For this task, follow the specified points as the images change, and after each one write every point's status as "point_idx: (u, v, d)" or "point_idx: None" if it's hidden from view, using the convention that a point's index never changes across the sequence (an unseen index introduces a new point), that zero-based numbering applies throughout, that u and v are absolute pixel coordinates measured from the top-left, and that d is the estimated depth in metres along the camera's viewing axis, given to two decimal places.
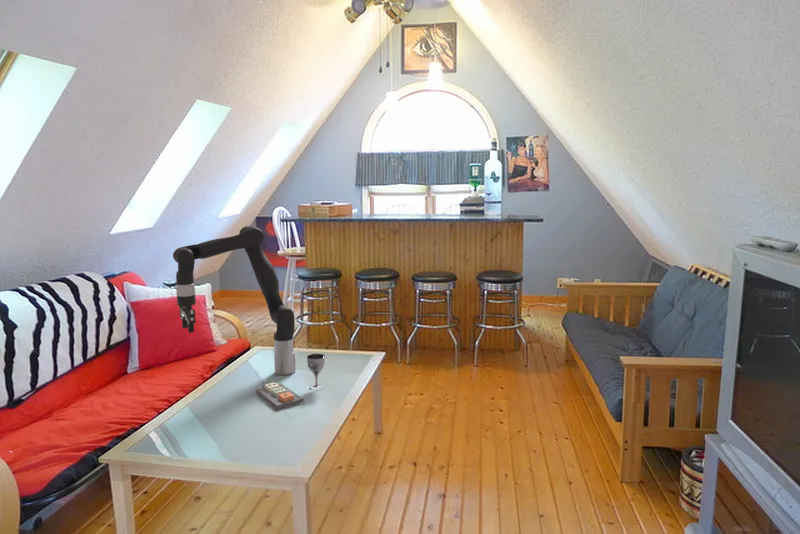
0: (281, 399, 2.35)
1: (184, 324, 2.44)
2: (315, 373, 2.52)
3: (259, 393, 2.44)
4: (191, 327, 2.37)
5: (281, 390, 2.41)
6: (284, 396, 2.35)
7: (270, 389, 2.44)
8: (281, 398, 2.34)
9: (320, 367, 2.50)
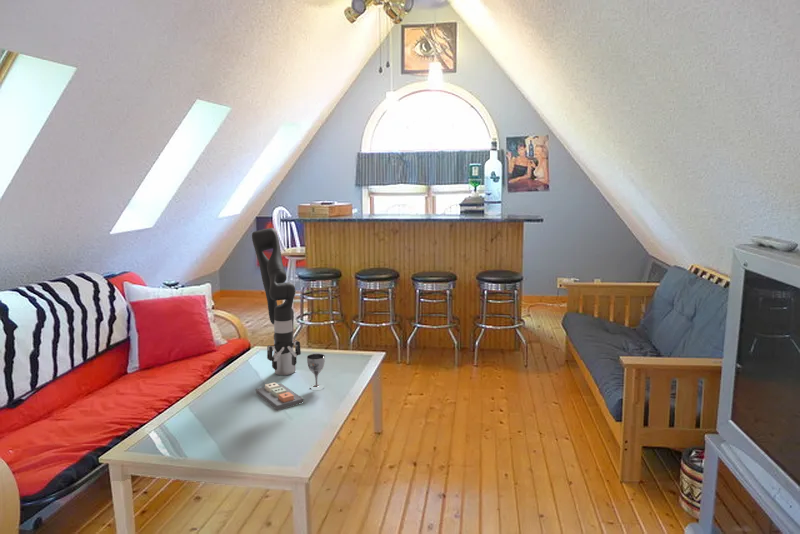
0: (281, 399, 2.35)
1: None
2: (315, 373, 2.52)
3: (259, 393, 2.44)
4: None
5: (281, 390, 2.41)
6: (284, 396, 2.35)
7: (270, 389, 2.44)
8: (281, 398, 2.34)
9: (320, 367, 2.50)
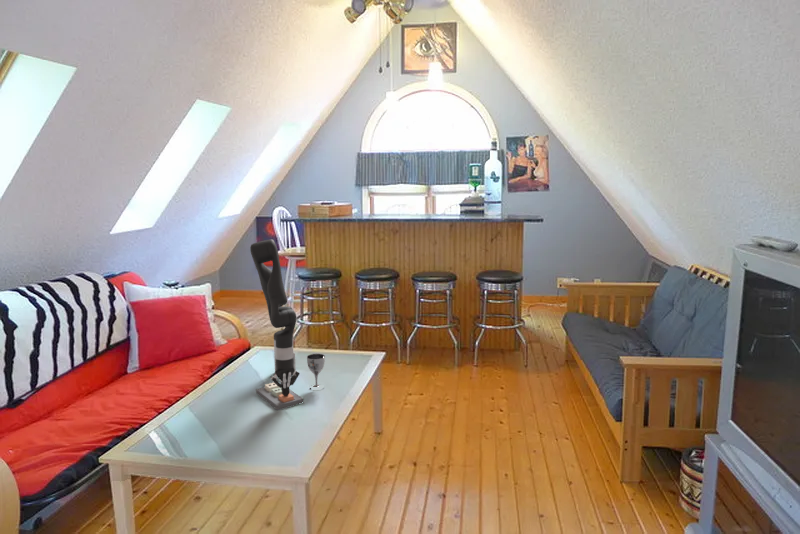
0: (281, 400, 2.35)
1: None
2: (315, 373, 2.52)
3: (259, 393, 2.44)
4: None
5: (281, 390, 2.41)
6: (284, 397, 2.35)
7: (270, 389, 2.44)
8: (281, 399, 2.35)
9: (320, 367, 2.50)
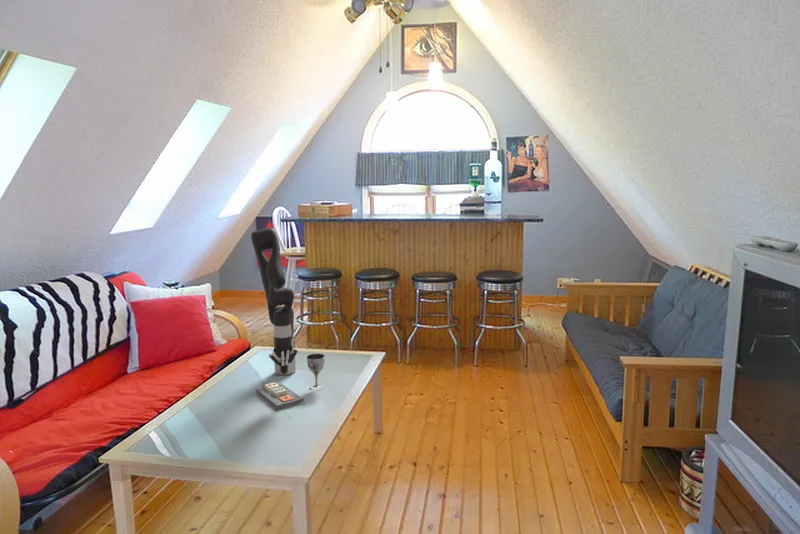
0: None
1: None
2: (315, 373, 2.52)
3: (259, 393, 2.44)
4: None
5: (281, 390, 2.41)
6: (284, 399, 2.35)
7: (270, 389, 2.44)
8: None
9: (320, 367, 2.50)
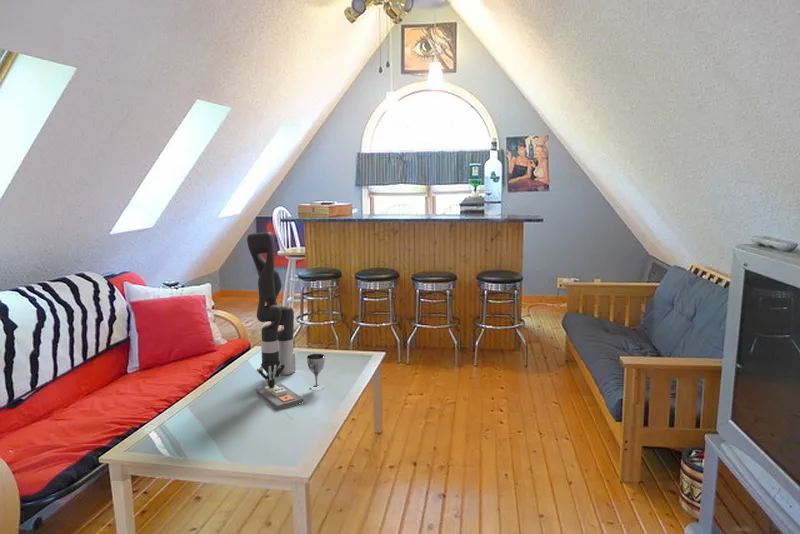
0: None
1: None
2: (315, 373, 2.52)
3: (259, 393, 2.44)
4: None
5: (281, 390, 2.41)
6: (284, 399, 2.35)
7: (270, 391, 2.44)
8: None
9: (320, 367, 2.50)
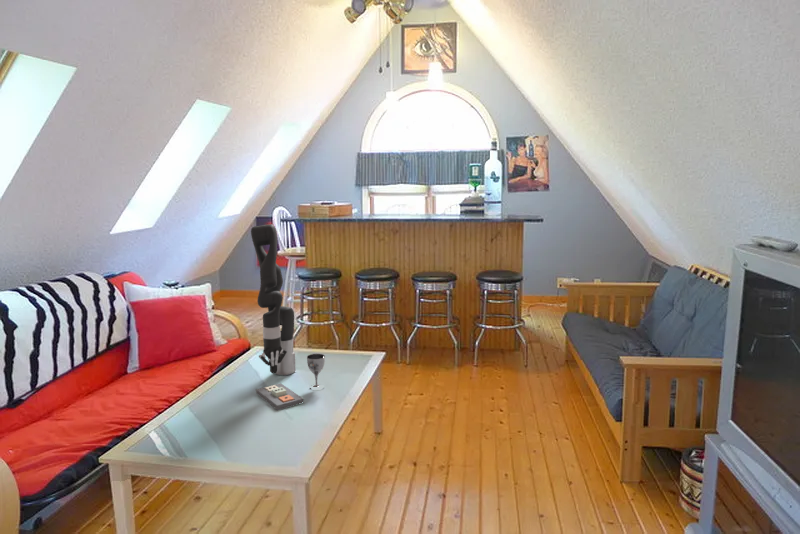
0: None
1: None
2: (315, 373, 2.52)
3: (259, 393, 2.44)
4: None
5: (281, 390, 2.41)
6: (284, 399, 2.35)
7: None
8: None
9: (320, 367, 2.50)
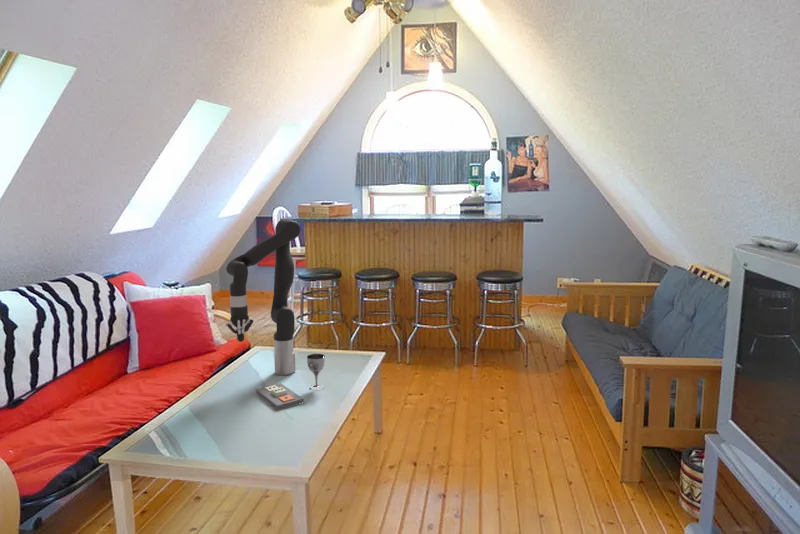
0: None
1: None
2: (315, 373, 2.52)
3: (259, 393, 2.44)
4: None
5: (281, 390, 2.41)
6: (284, 399, 2.35)
7: None
8: None
9: (320, 367, 2.50)
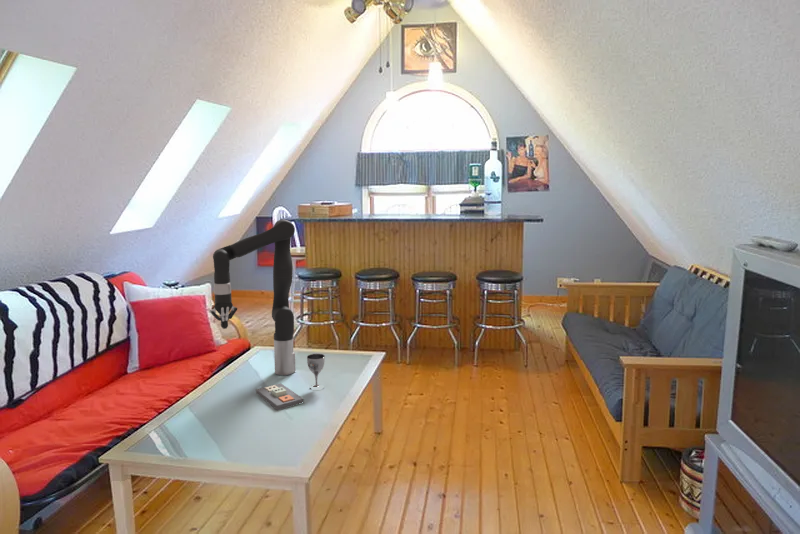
0: None
1: None
2: (315, 373, 2.52)
3: (259, 393, 2.44)
4: None
5: (281, 390, 2.41)
6: (284, 399, 2.35)
7: None
8: None
9: (320, 367, 2.50)
